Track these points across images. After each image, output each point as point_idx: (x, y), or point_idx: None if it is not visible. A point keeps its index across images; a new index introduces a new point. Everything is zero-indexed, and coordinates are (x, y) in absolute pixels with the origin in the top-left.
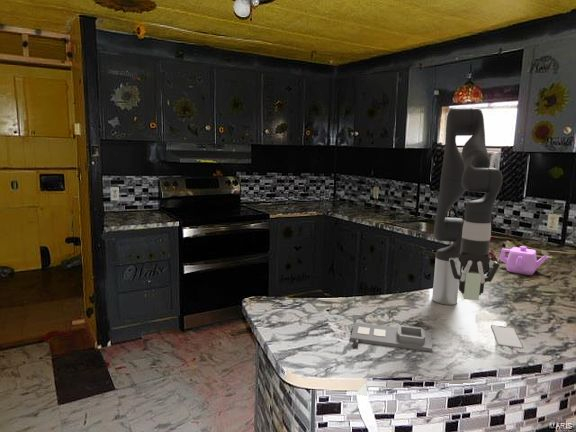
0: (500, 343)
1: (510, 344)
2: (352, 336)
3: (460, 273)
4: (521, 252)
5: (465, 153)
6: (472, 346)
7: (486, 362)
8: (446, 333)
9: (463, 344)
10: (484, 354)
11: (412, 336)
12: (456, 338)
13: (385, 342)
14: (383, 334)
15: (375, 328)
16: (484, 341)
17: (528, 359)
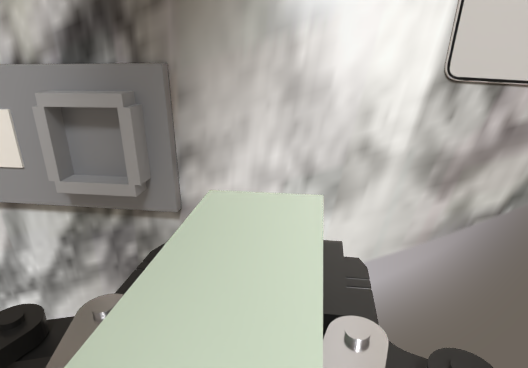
0: (460, 66)
1: (507, 63)
2: None
3: (58, 352)
4: None
5: None
6: (326, 127)
7: (347, 238)
8: (236, 23)
9: (293, 118)
10: (356, 183)
11: (97, 188)
12: (273, 66)
13: (36, 203)
14: (12, 151)
15: None
16: (391, 60)
17: (521, 183)
